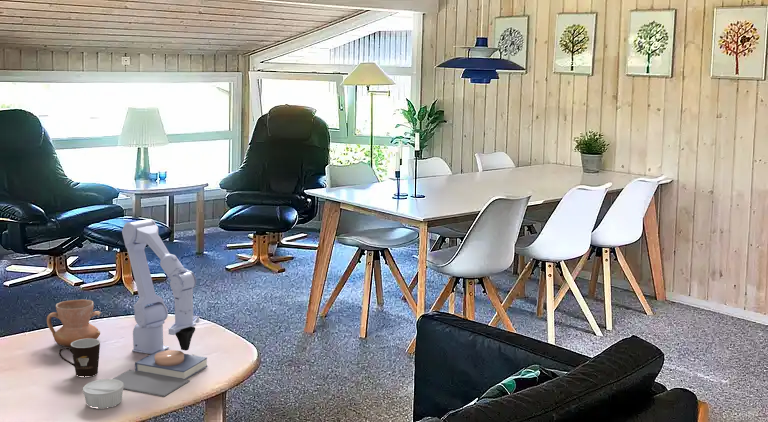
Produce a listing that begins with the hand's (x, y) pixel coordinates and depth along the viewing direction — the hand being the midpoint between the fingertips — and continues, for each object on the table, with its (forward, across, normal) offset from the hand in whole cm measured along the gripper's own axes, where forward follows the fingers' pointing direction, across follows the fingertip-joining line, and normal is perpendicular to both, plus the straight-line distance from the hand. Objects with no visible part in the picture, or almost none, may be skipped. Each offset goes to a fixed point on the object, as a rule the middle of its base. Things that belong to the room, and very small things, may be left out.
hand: (184, 349), depth 280 cm
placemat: (+4, -20, 0) cm, 21 cm away
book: (+4, -8, 0) cm, 8 cm away
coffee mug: (+4, -21, +23) cm, 32 cm away
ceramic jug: (+4, 0, +44) cm, 44 cm away
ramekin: (+4, -38, +2) cm, 38 cm away
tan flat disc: (+1, -8, 0) cm, 9 cm away
